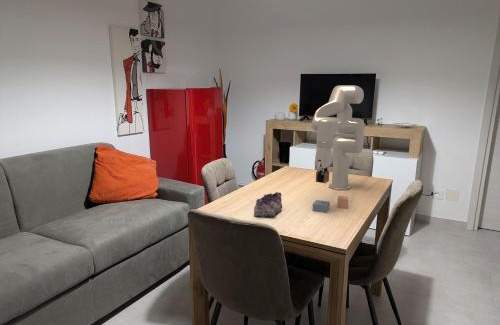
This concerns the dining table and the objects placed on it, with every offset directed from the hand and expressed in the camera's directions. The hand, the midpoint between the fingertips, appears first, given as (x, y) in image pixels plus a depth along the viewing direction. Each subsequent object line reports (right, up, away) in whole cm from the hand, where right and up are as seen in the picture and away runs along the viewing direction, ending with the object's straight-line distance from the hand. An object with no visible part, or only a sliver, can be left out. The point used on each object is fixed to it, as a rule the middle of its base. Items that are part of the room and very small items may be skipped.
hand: (322, 180), depth 176 cm
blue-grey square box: (0, -15, +3) cm, 16 cm away
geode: (-26, -16, 0) cm, 31 cm away
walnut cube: (0, -1, 0) cm, 1 cm away
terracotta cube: (+12, -14, +9) cm, 20 cm away
